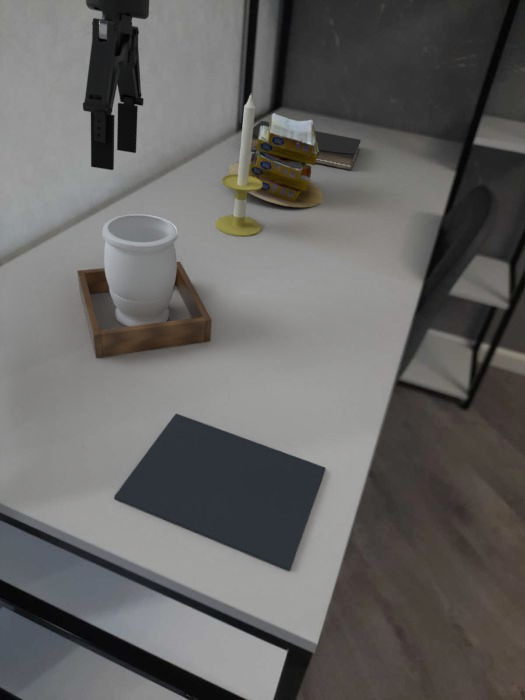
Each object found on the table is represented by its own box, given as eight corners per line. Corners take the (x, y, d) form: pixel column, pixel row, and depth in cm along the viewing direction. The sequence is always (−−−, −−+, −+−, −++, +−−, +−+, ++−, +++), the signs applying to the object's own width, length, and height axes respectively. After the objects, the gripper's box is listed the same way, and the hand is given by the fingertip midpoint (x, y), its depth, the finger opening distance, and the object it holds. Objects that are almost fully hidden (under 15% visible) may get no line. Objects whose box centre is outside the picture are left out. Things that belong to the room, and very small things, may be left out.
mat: (114, 499, 56) (113, 496, 56) (175, 415, 67) (175, 413, 66) (289, 571, 52) (289, 568, 51) (324, 470, 62) (325, 467, 62)
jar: (188, 310, 86) (191, 226, 76) (151, 342, 78) (150, 252, 69) (134, 290, 88) (130, 206, 79) (94, 319, 81) (85, 230, 71)
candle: (268, 225, 116) (286, 94, 99) (247, 241, 108) (262, 102, 92) (230, 212, 118) (240, 82, 102) (206, 227, 111) (214, 89, 95)
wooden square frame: (95, 357, 74) (93, 335, 71) (79, 291, 86) (77, 270, 84) (210, 341, 80) (211, 319, 77) (179, 281, 93) (180, 261, 90)
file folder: (243, 135, 153) (263, 118, 172) (242, 149, 156) (261, 131, 175) (353, 156, 149) (361, 137, 168) (350, 171, 152) (358, 150, 171)
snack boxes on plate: (331, 185, 140) (345, 120, 130) (309, 218, 121) (323, 145, 111) (246, 166, 145) (252, 101, 134) (211, 194, 126) (216, 122, 115)
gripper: (125, -34, 52) (121, 181, 63) (166, -7, 74) (158, 149, 84) (49, -48, 52) (57, 171, 62) (113, -17, 73) (111, 141, 84)
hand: (115, 159), depth 73 cm, fingers open, 13 cm apart
